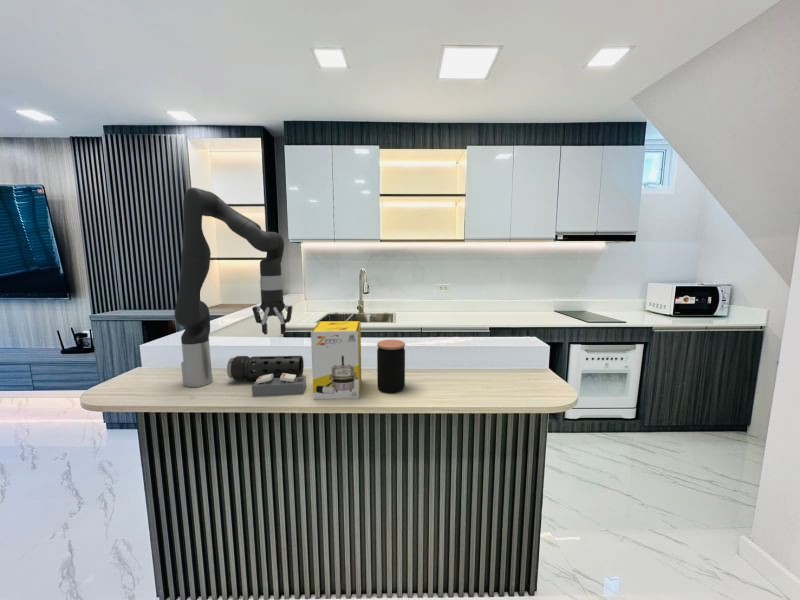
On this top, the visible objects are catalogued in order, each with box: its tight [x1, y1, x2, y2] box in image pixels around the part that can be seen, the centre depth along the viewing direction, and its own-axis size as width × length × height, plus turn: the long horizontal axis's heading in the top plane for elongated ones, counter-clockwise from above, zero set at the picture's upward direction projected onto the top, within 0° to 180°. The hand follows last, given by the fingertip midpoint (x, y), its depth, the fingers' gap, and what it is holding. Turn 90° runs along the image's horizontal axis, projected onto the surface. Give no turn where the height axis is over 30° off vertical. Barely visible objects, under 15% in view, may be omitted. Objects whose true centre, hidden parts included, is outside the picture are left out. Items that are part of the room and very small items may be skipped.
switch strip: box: [251, 376, 307, 398], centre depth 125 cm, size 18×7×4 cm, turn 97°
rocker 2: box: [280, 373, 296, 382], centre depth 125 cm, size 5×4×1 cm
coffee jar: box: [376, 339, 406, 394], centre depth 127 cm, size 11×11×18 cm
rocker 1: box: [257, 373, 274, 384], centre depth 123 cm, size 5×4×1 cm
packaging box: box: [310, 320, 362, 401], centre depth 125 cm, size 16×16×25 cm
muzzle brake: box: [226, 355, 305, 382], centre depth 135 cm, size 10×28×10 cm, turn 94°
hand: (274, 333), depth 121 cm, fingers open, 5 cm apart
